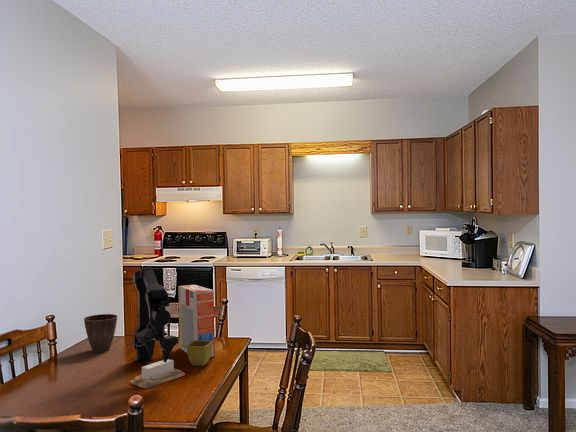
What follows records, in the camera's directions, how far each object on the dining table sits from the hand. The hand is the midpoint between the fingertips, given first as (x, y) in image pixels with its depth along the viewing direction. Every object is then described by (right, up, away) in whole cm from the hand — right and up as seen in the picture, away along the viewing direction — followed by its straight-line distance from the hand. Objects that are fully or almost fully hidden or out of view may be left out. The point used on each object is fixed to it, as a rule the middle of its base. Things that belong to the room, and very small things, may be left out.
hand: (157, 360), depth 183 cm
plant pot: (-39, -8, +42) cm, 58 cm away
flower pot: (+13, -7, +18) cm, 23 cm away
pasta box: (+8, -8, +36) cm, 37 cm away
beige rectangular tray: (0, -8, 0) cm, 8 cm away
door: (0, -7, 0) cm, 7 cm away
